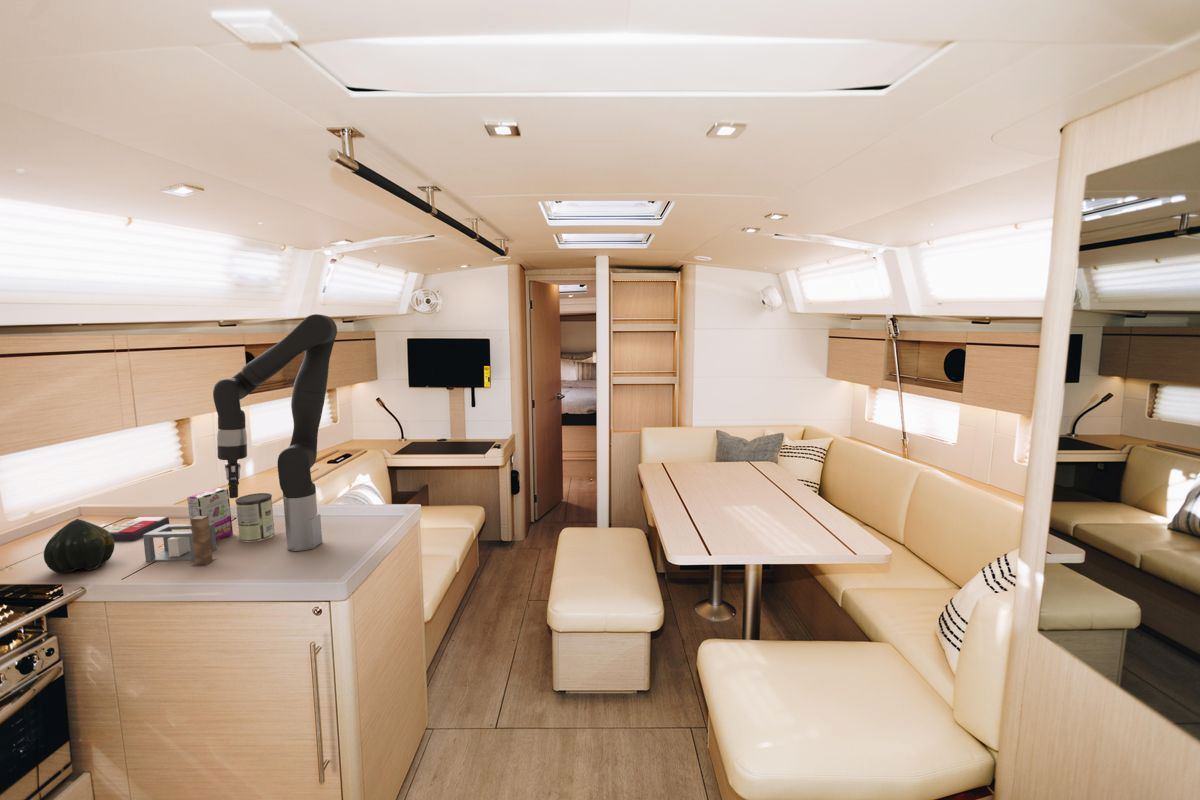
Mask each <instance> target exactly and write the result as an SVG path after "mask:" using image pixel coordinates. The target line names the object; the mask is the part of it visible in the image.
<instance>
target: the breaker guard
mask: <svg viewBox="0 0 1200 800" xmlns="http://www.w3.org/2000/svg"><path fill="white" fill-rule="evenodd" d="M209 528H210V538H211V549H212V552H214V551H216V550H217V549H218V547H217V540H216V535H215V525H214V523H209ZM191 529H192V525H191V524H190V523H176V524H175V523H169V524H166V525H164V526H161V527H159V528H157V529H155V530H152V531H150V532H148V533H146V534H143V539H142V540H143V547H144V557H145V562H148V563H151V562H186V561H187V562H188V561H189V562H190V561H193V562H194V561H195V556H194V546H193V535H192V531H191ZM173 530H174V531H173ZM175 530H176V531H175ZM177 530H178V531H177ZM180 530H181V531H180ZM183 530H184V531H183ZM186 530H187V531H186ZM171 537H189V541H190V551H188V552H186V553H185V554H183V555H181V556H174V557H169V550H168V541H167V539H169V538H171ZM154 538H160V539H161V538H163V539H162V540H163V549H164V550H163V551H162V552H160V553H157V554H156V553H155V552H156V551H155V543H154V541H155V540H154Z"/></svg>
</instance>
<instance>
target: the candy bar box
mask: <svg viewBox="0 0 1200 800" xmlns="http://www.w3.org/2000/svg"><path fill="white" fill-rule="evenodd" d="M187 507H188V515H189V522H190V523H189V524H191V519H192V518H195V517H197V516H208V517H209V523H214V525H215V535H216V541H218V540H222V539H224V538H227V537H229V536H231V535H233V534H234V532H233V530H234V529H233V522H232V521H233V520H232V513H231V504H230V497H229V488H225V487H224V488H223V487H216V488H212V489H209V490H207V491H204V492H200V493H198V494H194V495H191V496H188V497H187ZM190 531H192V529H190Z"/></svg>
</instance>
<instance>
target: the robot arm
mask: <svg viewBox="0 0 1200 800" xmlns="http://www.w3.org/2000/svg"><path fill="white" fill-rule="evenodd" d="M337 334H338V327H337V324H336V322H335V320H333V318H331V317H330V316H328V315H324V314H320V313H319V314H317V313H314V314H311V315H307V316H306V317H305V318H304V319H303V320H302V321H301V322H300V323H299V324H298V325H297V326H296V327H295V328H294V329H292V331H291V332H289V334H288V335H286V336H285V337H284V338H283V339H281V340H280V341H279V342H277V343H276V344H274V345H273V346H271V347H270V348H268V349H267V350H265V351H263V353H261V354H259V355H258V356H256V357H254V359H252V360H251V361H249V362H248V363H246V364H245V365H244V366H243V367H241V371H239V372H237V373H236V374H235V375H234V376H231V377H230V378H225V379H220V380H218V381H217V382H216V383H215V384H214V386H213V391H212V396H213V402H214V407H215V410H216V413H217V435H216V436H217V437H216V439H217V440H216V442H217V448H216V449H217V459H219V461H220V460H221V461H227V463H224V470H225V477H226V481H227V480H228V483H227V486H228V493H229V499H237V498H239V485H240V482H239V480H240V478H241V462H238V460H243V459H245V458H248V442H247V441H248V436H247V429H246V427H247V426H246V413H245V411H244V410H243V409H241V408H242V407H241V401H240V400H242V399H244V398H246V397H247V396H249V395H250V394H251V393H252V392H253V391H255V390H256V389H257V388H258V387H259V386H260V385H261V384H263V383H264V382H266V381H268V380H269V379H270V378H272V377H273V376H275V375H276V374H278V373H279V372H280V371H281V370H283V368H285V367H286V366H287V365H289V363H290V362H291V361H292V360H294V359H295V358H296V357H298V356H299V355H300V354H302V353H304V357H303V360H302V362H301V365H300V367H299V370H298V371H297V374H296V378H295V380H294V383H293V388H292V393H291V399H290V400H291V401H290V402H291V403H290V406H291V408H290V409H291V414H292V418H293V430H292V431H293V432H292V436H291V439H290V443H289V447H287V448H285V449H283V450H282V451H281V452H280V453H279V455H278V457H277V473H278V481H279V482H278V483H279V487H280V490H281V492H282V497H283V499H282V500H283V511H284V512H283V514H284V526H285V536H286V539H285V540H286V548H287V550H288V551H291V552H299V551H300V552H301V551H306V550H307V551H308V550H314V549H315V548H316V547H317V546H319V545H320V544H322V543H323V536H322V535H323V534H322V532H323V531H322V520H321V514H319V513H318V502H317V489H316V484H315V483H314V482H313V480H312V475H311V468H312V467H314V465H315V463H316V461H317V456H318V437H319V435H318V434H319V430H320V429H319V428H320V424H321V419H322V414H323V409H324V404H325V399H326V394H327V385H328V379H329V368H330V367H329V366H330V359H331V355H332V351H333V347H334V344H335V342H336V338H337Z"/></svg>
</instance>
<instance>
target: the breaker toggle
mask: <svg viewBox="0 0 1200 800" xmlns="http://www.w3.org/2000/svg"><path fill="white" fill-rule="evenodd" d="M167 541H168V550H169V557H174V556H181V555H183V554H185V553H186V552H188V551H190V541H189V537H171V538H169V539H167Z"/></svg>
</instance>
